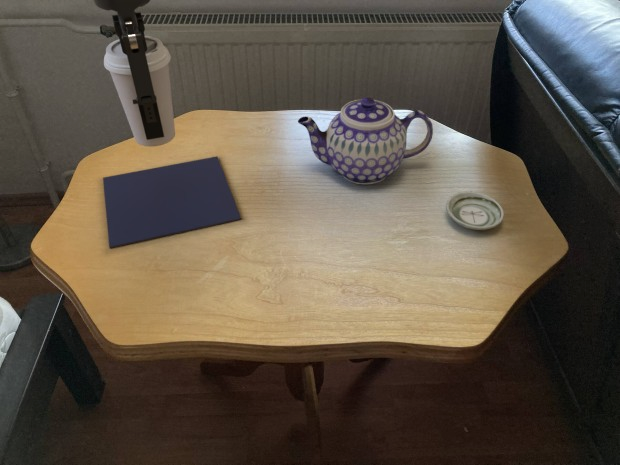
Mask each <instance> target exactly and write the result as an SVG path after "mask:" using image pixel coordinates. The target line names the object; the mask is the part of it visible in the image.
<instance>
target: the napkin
mask: <svg viewBox="0 0 620 465" xmlns="http://www.w3.org/2000/svg"><path fill="white" fill-rule="evenodd" d="M102 183H103V193H104V205H105V206H104V207H105V216H106V228H107V239H108V248H109V249H114V248H118V247H119V248H120V247H123V246H128V245H132V244H133V245H134V244H137V243H142V242H146V241H151V240H154V239H155V240H156V239H160V238H164V237H168V236H173V235H177V234H183V233H188V232H191V231H197V230H201V229H205V228H209V227H213V226H214V227H215V226H219V225H223V224H224V225H225V224H227V223H233V222H237V221H241V220H242V216H241V213H240V211H239V209H238V205H237V203H236V201H235V199H234V198H235V197H234V195H233V193H232V190H231V188H230V184H229V183H228V180H227V177H226V175H225V172H224V169H223V167H222V165H221V162H220V159H219V157H218V155H217V156H211V157H206V158H201V159H195V160H190V161H184V162H180V163H179V162H178V163H173V164H169V165H163V166H158V167H152V168H146V169H141V170H137V171H131V172H126V173H119V174H115V175H109V176H104V177H102Z"/></svg>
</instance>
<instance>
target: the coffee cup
mask: <svg viewBox="0 0 620 465" xmlns="http://www.w3.org/2000/svg"><path fill="white" fill-rule="evenodd" d="M145 40H146V44H147V51H146V52H145V54H146V58H147V63H148V67H149V72H150V76H151V81H152V85H153V90H154V94H155V96H156V98H157V100H156V101H157V105H158V110H159V115H160V119H161V124H162V128H163V133H164V137H161V138H155V139H150V140H147V139H146V135H145V131H144V127H143V123H142V119H141V115H140V111H139V106H138V104H133V100H134V99H136V98H137V95H136V90H135V86H134V82H133V78H132V74H131V70H130V66H129V62H128V58H127V55H126V54H124V53H123V52H122V48H121V44H120V40H119V38H118V39H116V40H113V41H112V42H110V43H109V44H108V45H106V48H105V54H104V58H103V66H104V68H105V69H106V70H107V71H109V73H110V76H111V79H112V81H113V84H114V87H115V89H116V93H117V95H118V97H119V100H120V103H121V105H122V106H121V107H122V109H123V111H124V113H125V114H124V115H125V117H126V119H127V122H128V124H129V127H130V130H131V132H132V136H133V138H134V141H135V142H136V143H137V144H138V145H139V146H142V147H150V148H151V147H152V148H153V147H159V146H164V145H166V144H169V143H171V141H172V140H174V138H175V137H176V126H175V117H174V107H173V106H174V105H173V97H172V88H171V80H170V79H171V76H170V68H169V67H170V65H169V63H170V62H171V59H172V57H171V56H172V55H171V53H170V52H169V50H168V48H167V47H166V46H165V45H164V44H163V42H162V40H161V39H159V38H157V37H154V36H149V35H145Z"/></svg>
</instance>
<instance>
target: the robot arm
mask: <svg viewBox="0 0 620 465" xmlns="http://www.w3.org/2000/svg"><path fill="white" fill-rule="evenodd" d="M93 2H94V5H95V6H96V7H98V8H99V9H101V10H105V11H113V12H116V14H113V15H111V16H112V22H113V27H114V31H115V33H116V35H117V36H118V39H119V40H120V44H121V48H122V52H123V53H124V54H126V55H127V58H128V62H129V66H130V70H131V74H132V78H133V82H134V86H135V90H136V95H137V98H136V99H134V100H133V104H138V106H139V111H140V115H141V119H142V123H143V127H144V131H145V135H146V139H147V140H150V139H155V138H161V137H164V133H163V128H162V124H161V119H160V115H159V110H158V105H157V101H156V100H157V98H156V96H155V94H154V90H153V85H152V81H151V76H150V72H149V67H148V63H147V58H146V54H145V52H146V51H147V44H146V40H145V36H146V35H145V31H146V27H145V23H144V19H143V17H142V16H143V15H142V12H141V11H137V12H136V11H135V10H137V9H138V8H143V7H145V6H146V5H148V4H149V3H150V2H151V0H93Z"/></svg>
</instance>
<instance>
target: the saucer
mask: <svg viewBox="0 0 620 465" xmlns="http://www.w3.org/2000/svg"><path fill="white" fill-rule="evenodd" d="M445 210H446V212H447V215H448V216H449V217H450V218H451V220H453V221H454V222H455V223H457V225H460V226H462V227H464V228H466V229H470V230H474V231H475V230H476V231H486V230H491V229H494V228H496V227H497V226H499V225H500V224H501V223H502V222H503V220H504V217H505V213H504V212H505V211H504V208H503V207H502V205H501V204H500V203H499V201H497V200H495V199H494V198H492V197H491V196H489V195H488V194H487V195H486V194H484V193H481V192H477V191H461V192H457V193H455V194H452V195H451V196H450V197H449V198H448V199H447V201H446V204H445Z"/></svg>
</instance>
